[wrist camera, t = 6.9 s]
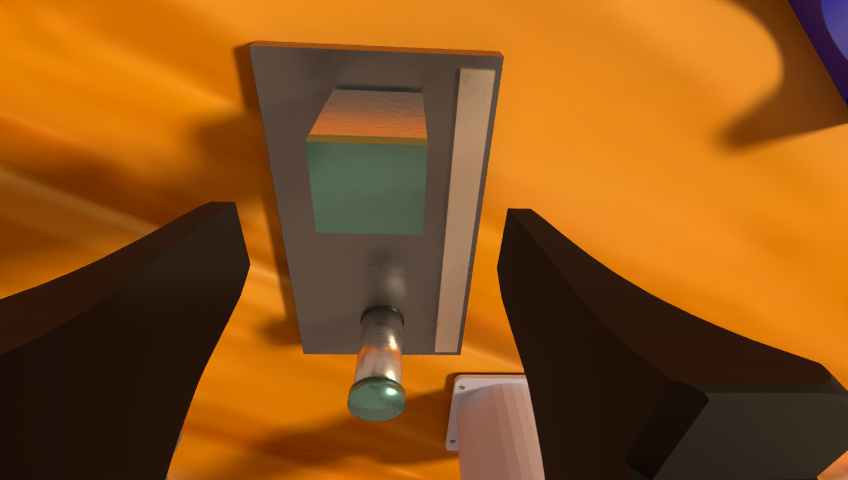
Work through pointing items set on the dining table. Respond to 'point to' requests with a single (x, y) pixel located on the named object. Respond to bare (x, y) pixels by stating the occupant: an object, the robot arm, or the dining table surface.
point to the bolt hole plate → (381, 253)
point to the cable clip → (828, 35)
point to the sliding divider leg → (369, 163)
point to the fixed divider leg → (378, 367)
